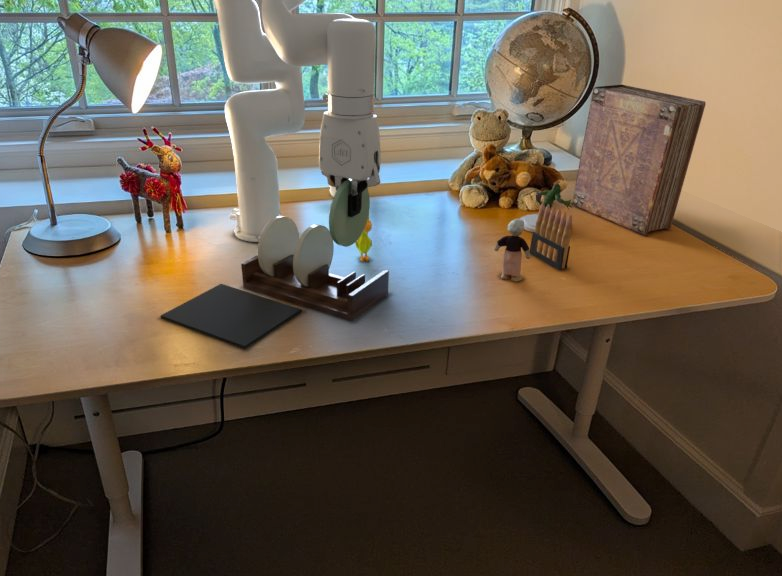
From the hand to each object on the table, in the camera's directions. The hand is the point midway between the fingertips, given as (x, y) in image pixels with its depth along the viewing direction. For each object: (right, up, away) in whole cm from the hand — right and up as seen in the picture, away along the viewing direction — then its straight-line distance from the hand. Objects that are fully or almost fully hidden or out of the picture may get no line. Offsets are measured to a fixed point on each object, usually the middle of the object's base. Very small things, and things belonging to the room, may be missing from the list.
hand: (350, 213), depth 114 cm
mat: (-22, -18, +4) cm, 29 cm away
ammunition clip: (+43, -4, +27) cm, 51 cm away
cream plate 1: (-14, -4, +13) cm, 19 cm away
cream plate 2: (-7, -6, +9) cm, 13 cm away
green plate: (0, 0, 0) cm, 0 cm away
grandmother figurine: (+33, -9, +20) cm, 39 cm away
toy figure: (+2, -4, +26) cm, 27 cm away
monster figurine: (+47, +7, +46) cm, 66 cm away
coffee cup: (-4, +20, +64) cm, 67 cm away
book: (+68, +11, +52) cm, 87 cm away
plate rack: (-7, -12, +13) cm, 19 cm away
